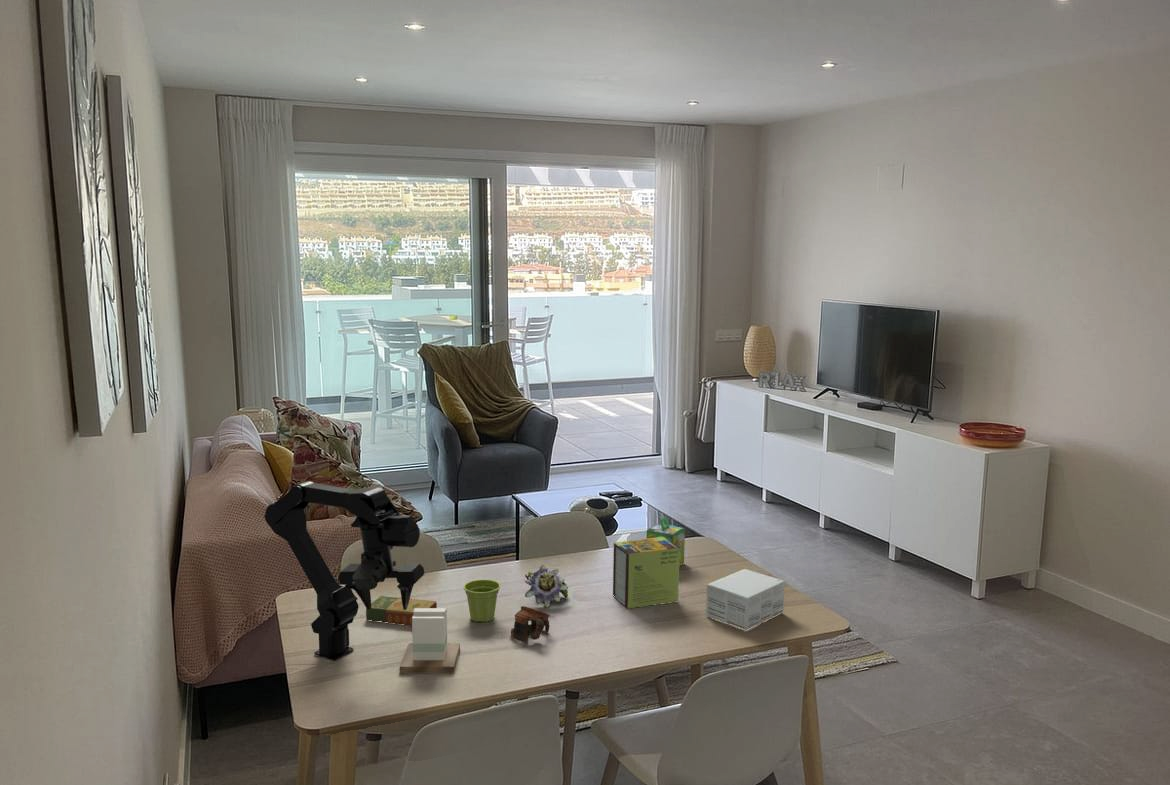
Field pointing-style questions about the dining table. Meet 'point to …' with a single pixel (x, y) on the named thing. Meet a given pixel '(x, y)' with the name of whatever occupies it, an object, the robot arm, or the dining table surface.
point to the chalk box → (669, 535)
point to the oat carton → (429, 633)
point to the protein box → (646, 572)
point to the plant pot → (482, 599)
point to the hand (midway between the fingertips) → (387, 609)
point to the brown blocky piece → (536, 626)
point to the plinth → (430, 661)
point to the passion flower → (546, 586)
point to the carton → (395, 610)
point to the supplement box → (745, 598)
